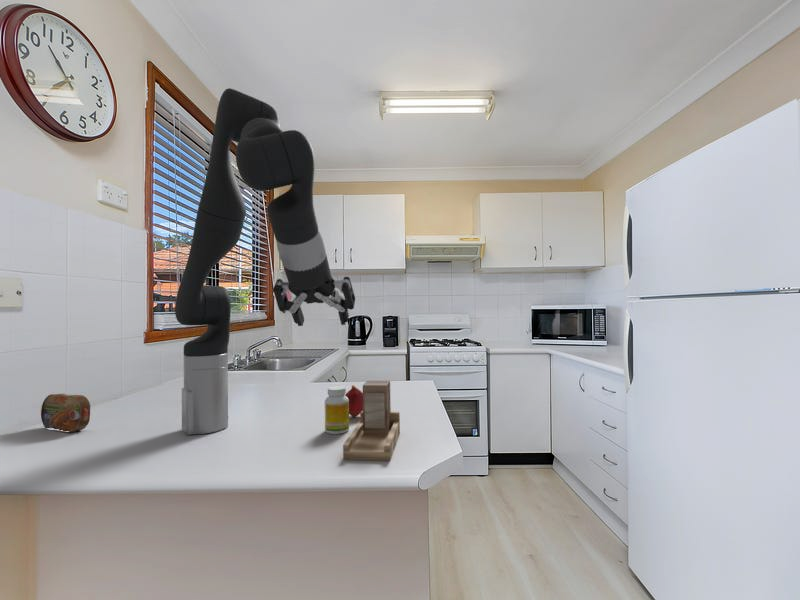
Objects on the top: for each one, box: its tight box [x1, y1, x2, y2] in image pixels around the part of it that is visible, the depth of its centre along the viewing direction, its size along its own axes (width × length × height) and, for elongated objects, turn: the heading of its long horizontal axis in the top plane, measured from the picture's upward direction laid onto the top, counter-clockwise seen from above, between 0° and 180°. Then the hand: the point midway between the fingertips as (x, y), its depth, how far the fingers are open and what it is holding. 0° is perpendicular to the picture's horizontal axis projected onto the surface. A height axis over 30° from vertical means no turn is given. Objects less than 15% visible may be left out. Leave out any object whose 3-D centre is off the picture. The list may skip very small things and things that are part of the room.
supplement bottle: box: [324, 385, 350, 435], centre depth 87 cm, size 5×5×10 cm
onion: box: [345, 384, 363, 418], centre depth 98 cm, size 6×6×8 cm
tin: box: [40, 393, 91, 433], centre depth 92 cm, size 15×3×8 cm, turn 68°
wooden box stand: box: [342, 380, 401, 462], centre depth 78 cm, size 16×8×12 cm, turn 174°
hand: (322, 322), depth 77 cm, fingers open, 8 cm apart
